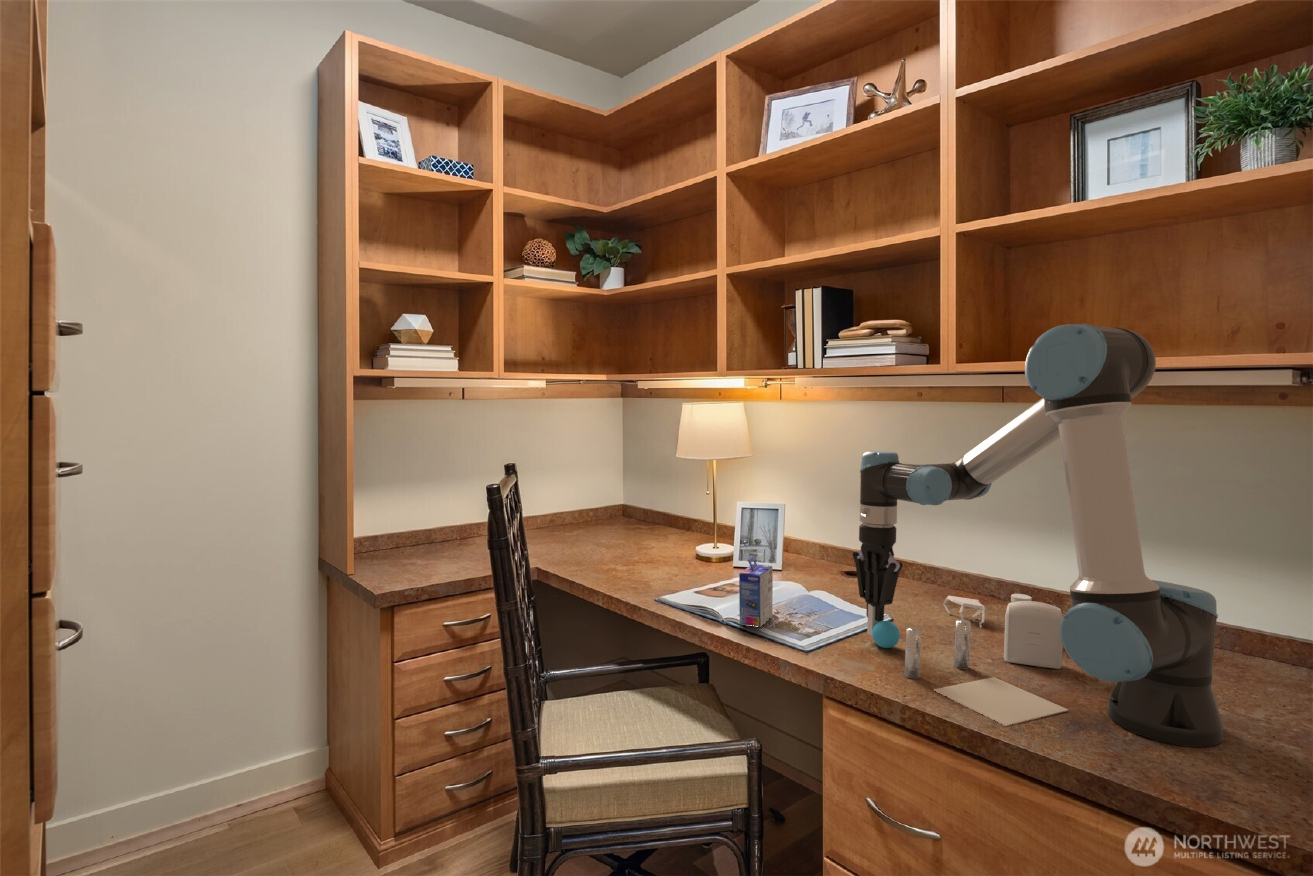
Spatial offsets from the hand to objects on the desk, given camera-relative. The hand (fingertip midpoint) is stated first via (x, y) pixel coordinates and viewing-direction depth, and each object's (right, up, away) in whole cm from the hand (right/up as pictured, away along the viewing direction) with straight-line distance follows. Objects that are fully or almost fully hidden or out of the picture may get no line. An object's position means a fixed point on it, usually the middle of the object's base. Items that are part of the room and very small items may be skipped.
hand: (874, 634), depth 153 cm
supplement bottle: (+32, -2, +3) cm, 33 cm away
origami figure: (+26, -2, +17) cm, 31 cm away
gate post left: (+1, -3, -18) cm, 19 cm away
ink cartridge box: (-24, -1, +13) cm, 27 cm away
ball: (+1, +1, -3) cm, 4 cm away
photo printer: (+28, -3, -11) cm, 30 cm away
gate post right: (+13, -3, -13) cm, 19 cm away
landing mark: (+13, -4, -28) cm, 32 cm away
